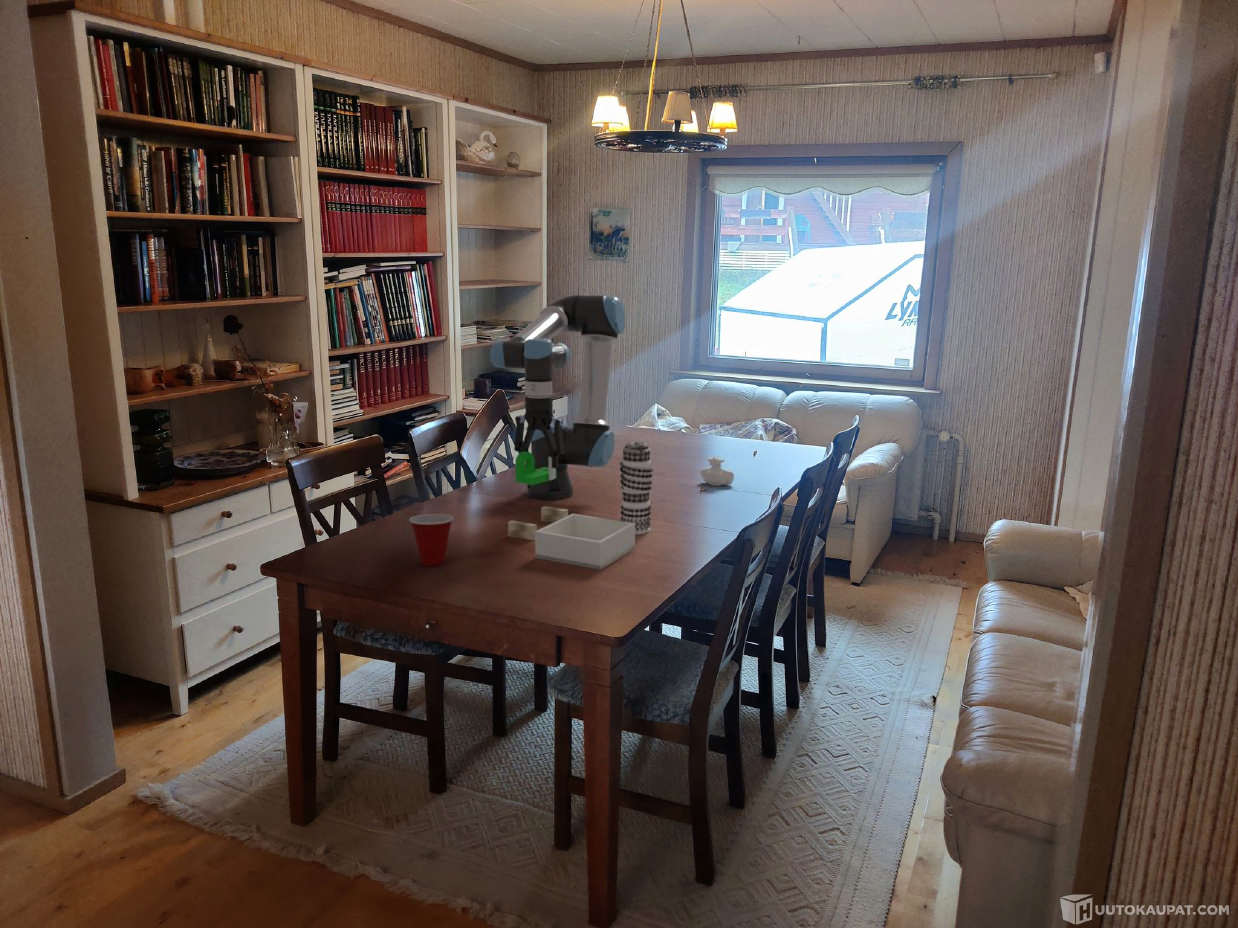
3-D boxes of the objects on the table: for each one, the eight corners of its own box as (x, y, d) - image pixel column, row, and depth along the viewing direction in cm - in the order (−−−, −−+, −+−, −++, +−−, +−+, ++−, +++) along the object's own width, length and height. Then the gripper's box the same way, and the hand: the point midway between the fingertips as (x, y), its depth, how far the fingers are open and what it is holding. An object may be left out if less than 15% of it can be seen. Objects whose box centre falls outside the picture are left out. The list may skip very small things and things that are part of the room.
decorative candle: (614, 526, 258) (615, 441, 253) (644, 523, 261) (645, 439, 256) (625, 535, 250) (626, 447, 244) (656, 532, 253) (658, 445, 248)
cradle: (508, 536, 249) (508, 522, 248) (544, 519, 265) (544, 506, 264) (532, 540, 245) (532, 526, 244) (568, 522, 262) (568, 509, 261)
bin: (535, 557, 231) (535, 531, 229) (572, 538, 247) (572, 513, 246) (600, 569, 222) (600, 542, 221) (634, 548, 239) (635, 523, 237)
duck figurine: (699, 489, 310) (693, 468, 302) (704, 472, 314) (699, 451, 306) (732, 493, 305) (727, 472, 297) (738, 476, 310) (733, 454, 302)
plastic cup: (457, 555, 232) (456, 510, 229) (451, 569, 222) (450, 522, 219) (415, 555, 232) (413, 510, 229) (407, 569, 221) (405, 522, 219)
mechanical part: (532, 485, 244) (531, 456, 243) (515, 481, 248) (515, 453, 246) (560, 477, 254) (560, 449, 252) (544, 473, 257) (544, 446, 255)
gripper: (499, 395, 246) (501, 477, 251) (565, 400, 239) (566, 484, 244) (513, 392, 253) (514, 471, 258) (577, 396, 246) (577, 478, 251)
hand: (539, 477), depth 251 cm, fingers closed on mechanical part, 7 cm apart
